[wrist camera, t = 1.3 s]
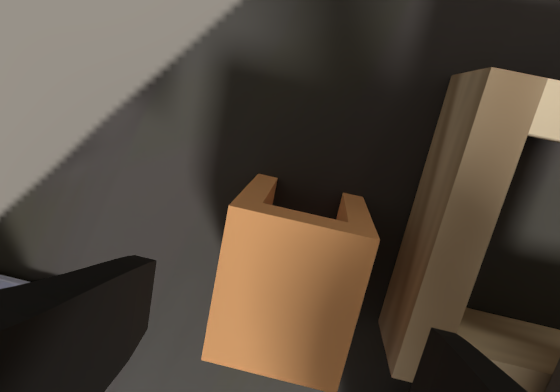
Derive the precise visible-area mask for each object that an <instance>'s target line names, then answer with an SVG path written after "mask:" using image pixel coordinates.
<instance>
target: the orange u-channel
mask: <svg viewBox="0 0 560 392" xmlns="http://www.w3.org/2000/svg"><path fill="white" fill-rule="evenodd" d="M277 180H278V178H276V177H271V176H267V175H262V174H257V175H256V177H255V178H254V179H253V180H252V181H251V182H250V183H249V184H248V185H247V186H246V187H245V188H244V189H243V190H242V192H241V193H240V194H239V195H238V196H237V197H236V198H235V199H234V200H233V201H232V202H231V203H230V204H229V206H228V211H227V217H226V223H225V228H224V234H223V239H222V245H221V251H220V256H219V262H218V268H217V273H216V279H215V285H214V290H213V296H212V301H211V307H210V313H209V318H208V324H207V330H206V335H205V341H204V346H203V352H202V358H201V360H203V361H207V362H211V363H215V364H219V365H223V366H227V367H231V368H235V369H239V370H243V371H246V372H250V373H254V374H258V375H262V376H266V377H270V378H274V379H278V380H282V381H286V382H290V383H294V384H298V385H302V386H306V387H310V388H313V389H317V390H321V391H325V392H337V390H338V387H339V383H340V380H341V376H342V373H343V369H344V366H345V362H346V359H347V355H348V352H349V348H350V345H351V341H352V338H353V334H354V331H355V327H356V324H357V320H358V317H359V313H360V309H361V306H362V302H363V299H364V295H365V292H366V288H367V285H368V281H369V278H370V274H371V271H372V267H373V264H374V260H375V257H376V253H377V250H378V246H379V243H380V238H379V236H378V233H377V231H376V228H375V226H374V223H373V221H372V218H371V216H370V213H369V211H368V208H367V206H366V203H365V201H364V198H363V197H361V196H356V195H352V194H348V193H343V194H342V198H341V202H340V206H339V210H338V214H337V218H336V220H335V219H331V218H327V217H322V216H318V215H313V214H309V213H305V212H300V211H296V210H291V209H287V208H283V207H278V206H274V205H273V200H274V195H275V190H276V185H277Z"/></svg>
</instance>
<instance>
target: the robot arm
mask: <svg viewBox="0 0 560 392" xmlns="http://www.w3.org/2000/svg"><path fill="white" fill-rule="evenodd" d="M155 268H156V260H152V259H148V258H144V257H140V256H136V255H133V256H127V257H122V258H118V259H114V260H111V261H107V262H104V263H100V264H97V265H93V266H90V267H86V268H83V269H79V270H76V271H72V272H69V273H65V274H61V275H57V276H53V277H49V278H45V279H41V280H37V281H33V282H28V281H24V280H20V279H16V278H12V277H8V276H4V275H0V392H104V391H105V390H106V389H107V387H108V386H109V385H110V384H111V382H112V381H113V380H114V379H115V377H116V376H117V375H118V373H119V372H120V371H121V370H122V368H123V367H124V366H125V364H126V363H127V362H128V360H129V359H130V357H131V355H132V354H133V352H134V351H135V349H136V347H137V346H138V344H139V342H140V340H141V339H142V337H143V335H144V334H145V332H146V330H147V328H148V320H149V313H150V305H151V298H152V290H153V283H154V275H155ZM409 392H528V391H526V390H525V389H524V388H523V387H522V386H520V385H519V384H518V383H517V382H516V381H514V380H513V379H512V378H511V377H510V376H509V375H507V374H506V373H505V372H504V371H503V370H501V369H500V368H499V367H498V366H497V365H496V364H494V363H493V362H492V361H491V360H490V359H488V358H487V357H486V356H485V355H484V354H483V353H481V352H480V351H479V350H478V349H477V348H475V347H474V346H473V345H472V344H470V343H469V342H468V341H466V340H465V339H464V338H462V337H461V336H459V335H458V334H456V333H453V332H449V331H445V330H441V329H436V328H432V327H431V330H430V333H429V336H428V338H427V341H426V344H425V347H424V350H423V353H422V356H421V359H420V362H419V365H418V368H417V371H416V374H415V377H414V380H413V383H412V385H411V388H410V391H409Z"/></svg>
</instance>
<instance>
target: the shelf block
mask: <svg viewBox="0 0 560 392" xmlns="http://www.w3.org/2000/svg"><path fill="white" fill-rule="evenodd" d="M527 136H530V137H535V138H539V139H544V140H549V141H554V142H559V143H560V81H559V80H554V79H549V78H544V77H539V76H534V75H529V74H524V73H519V72H514V71H509V70H504V69H499V68H494V67H489V68H484V69H479V70H474V71H470V72H465V73H460V74H455V75H452V76H451V79H450V82H449V86H448V89H447V92H446V96H445V99H444V102H443V106H442V109H441V112H440V116H439V119H438V122H437V126H436V129H435V132H434V136H433V139H432V142H431V146H430V149H429V152H428V156H427V159H426V163H425V166H424V169H423V173H422V176H421V179H420V183H419V186H418V189H417V193H416V196H415V199H414V203H413V206H412V209H411V213H410V216H409V219H408V223H407V226H406V229H405V233H404V236H403V239H402V243H401V246H400V249H399V253H398V256H397V259H396V263H395V266H394V269H393V273H392V276H391V279H390V283H389V286H388V290H387V293H386V296H385V300H384V303H383V306H382V310H381V313H380V316H379V320H378V323H379V327H380V331H381V336H382V340H383V344H384V348H385V352H386V356H387V361H388V365H389V369H390V373H391V377H392V378H395V379H399V380H403V381H407V382H411V383H413V380H414V377H415V374H416V371H417V368H418V365H419V362H420V359H421V356H422V353H423V350H424V347H425V344H426V341H427V338H428V336H429V333H430V330H431V327H432V328H436V329H441V330H445V331H449V332H453V333H456V334H458V335H459V336H461V337H462V338H464V339H465V340H466V341H468V342H469V343H470V344H472V345H473V346H474V347H475V348H477V349H478V350H479V351H480V352H481V353H483V354H484V355H485V356H486V357H487V358H488V359H490V360H491V361H492V362H493V363H494V364H496V365H497V366H498V367H499V368H500V369H501V370H503V371H504V372H505V373H506V374H507V375H509V376H510V377H511V378H512V379H513V380H514V381H516V382H517V383H518V384H519V385H520V386H522V387H523V388H524V389H525V390H526V391H528V392H560V330H559V329H555V328H550V327H546V326H542V325H538V324H533V323H529V322H525V321H521V320H516V319H512V318H508V317H504V316H500V315H495V314H491V313H487V312H483V311H478V310H474V309H470V308H466V306H467V303H468V300H469V297H470V295H471V292H472V289H473V286H474V284H475V281H476V278H477V275H478V272H479V270H480V267H481V264H482V261H483V258H484V256H485V253H486V250H487V247H488V244H489V242H490V239H491V236H492V233H493V231H494V228H495V225H496V222H497V219H498V217H499V214H500V211H501V208H502V205H503V203H504V200H505V197H506V194H507V191H508V189H509V186H510V183H511V180H512V178H513V175H514V172H515V169H516V166H517V164H518V161H519V158H520V155H521V152H522V150H523V147H524V144H525V141H526V138H527Z"/></svg>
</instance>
